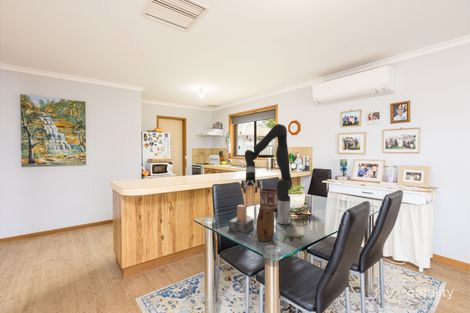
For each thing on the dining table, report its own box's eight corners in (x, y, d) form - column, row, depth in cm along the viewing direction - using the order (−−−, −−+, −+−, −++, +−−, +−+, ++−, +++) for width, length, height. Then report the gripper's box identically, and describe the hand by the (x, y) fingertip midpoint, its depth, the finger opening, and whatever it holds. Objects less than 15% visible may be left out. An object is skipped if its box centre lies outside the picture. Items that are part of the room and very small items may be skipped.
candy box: (310, 213, 201) (310, 194, 201) (311, 215, 195) (312, 196, 195) (294, 212, 202) (294, 194, 202) (295, 214, 197) (295, 195, 196)
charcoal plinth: (253, 227, 162) (253, 218, 162) (246, 233, 151) (246, 224, 151) (237, 224, 169) (237, 216, 168) (228, 229, 157) (229, 220, 157)
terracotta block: (246, 219, 160) (246, 205, 160) (243, 221, 156) (243, 206, 156) (239, 218, 163) (240, 204, 162) (237, 220, 159) (237, 205, 158)
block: (265, 235, 148) (266, 204, 147) (275, 239, 142) (275, 207, 141) (254, 239, 140) (255, 207, 140) (263, 243, 135) (264, 210, 134)
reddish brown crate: (266, 212, 199) (266, 192, 199) (255, 207, 215) (256, 189, 215) (282, 211, 207) (283, 191, 206) (271, 206, 223) (272, 188, 222)
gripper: (240, 172, 181) (240, 192, 173) (258, 170, 176) (258, 191, 169) (243, 175, 187) (242, 195, 180) (260, 174, 183) (260, 194, 176)
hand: (250, 193), depth 174 cm, fingers open, 8 cm apart
